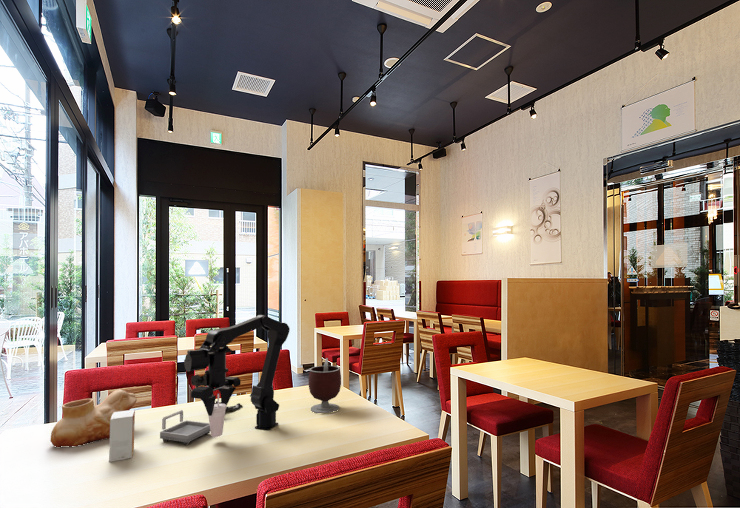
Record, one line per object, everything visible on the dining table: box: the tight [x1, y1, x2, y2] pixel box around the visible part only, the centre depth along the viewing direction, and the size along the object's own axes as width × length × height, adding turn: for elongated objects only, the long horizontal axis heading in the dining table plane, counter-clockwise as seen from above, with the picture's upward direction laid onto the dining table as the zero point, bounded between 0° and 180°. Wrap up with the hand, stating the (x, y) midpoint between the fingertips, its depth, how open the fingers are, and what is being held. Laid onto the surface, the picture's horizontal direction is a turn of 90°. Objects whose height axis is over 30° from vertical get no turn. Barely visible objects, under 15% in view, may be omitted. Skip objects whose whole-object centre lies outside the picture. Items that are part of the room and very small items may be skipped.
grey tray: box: [159, 409, 211, 446], centre depth 145 cm, size 13×12×8 cm
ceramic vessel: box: [49, 388, 138, 448], centre depth 148 cm, size 14×26×15 cm, turn 137°
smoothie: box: [208, 392, 228, 438], centre depth 141 cm, size 6×6×14 cm
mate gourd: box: [308, 357, 342, 414], centre depth 176 cm, size 16×14×20 cm
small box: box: [108, 409, 136, 463], centre depth 131 cm, size 8×6×13 cm
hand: (216, 412), depth 141 cm, fingers closed on smoothie, 6 cm apart
